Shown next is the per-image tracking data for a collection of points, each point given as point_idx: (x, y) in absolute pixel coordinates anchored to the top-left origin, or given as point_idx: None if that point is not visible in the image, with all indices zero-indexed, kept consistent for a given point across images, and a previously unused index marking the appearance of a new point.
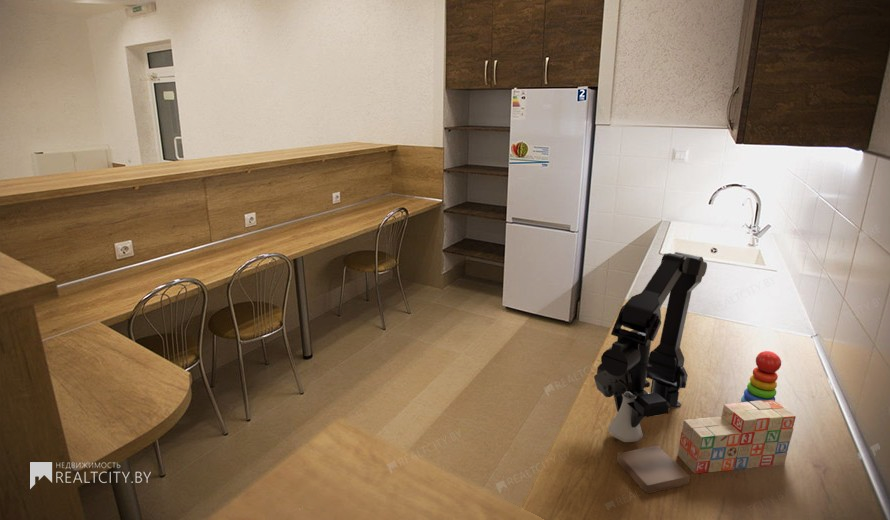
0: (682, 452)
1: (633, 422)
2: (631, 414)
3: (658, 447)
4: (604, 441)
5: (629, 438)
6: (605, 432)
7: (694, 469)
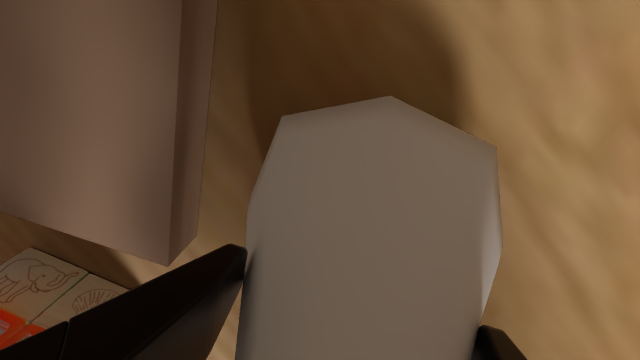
0: None
1: (167, 274)
2: (130, 355)
3: (150, 255)
4: (447, 48)
5: (267, 167)
6: (518, 147)
7: (15, 259)
